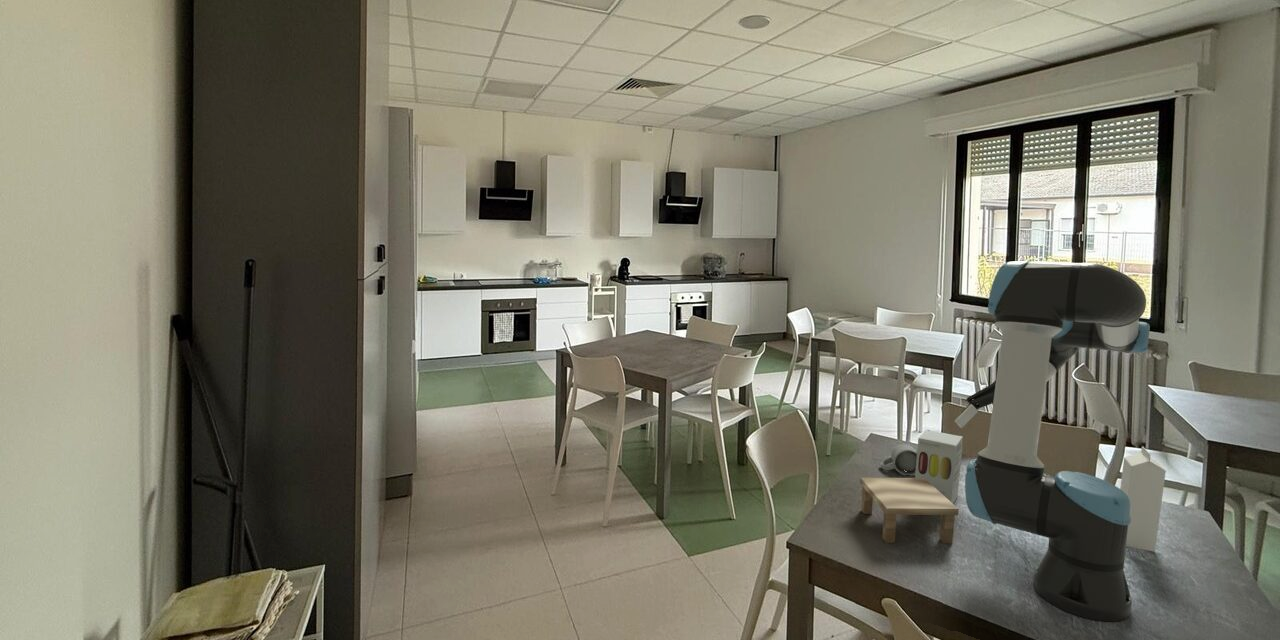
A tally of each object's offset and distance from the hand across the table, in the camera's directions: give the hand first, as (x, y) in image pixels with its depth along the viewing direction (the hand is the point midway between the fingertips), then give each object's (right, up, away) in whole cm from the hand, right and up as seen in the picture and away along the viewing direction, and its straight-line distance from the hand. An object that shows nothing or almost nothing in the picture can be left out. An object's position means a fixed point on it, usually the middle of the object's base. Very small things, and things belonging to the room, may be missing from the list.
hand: (975, 432), depth 159 cm
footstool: (-25, -20, -15) cm, 35 cm away
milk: (+24, -21, -22) cm, 39 cm away
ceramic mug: (-12, -15, +19) cm, 27 cm away
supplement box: (-10, -18, +1) cm, 20 cm away
